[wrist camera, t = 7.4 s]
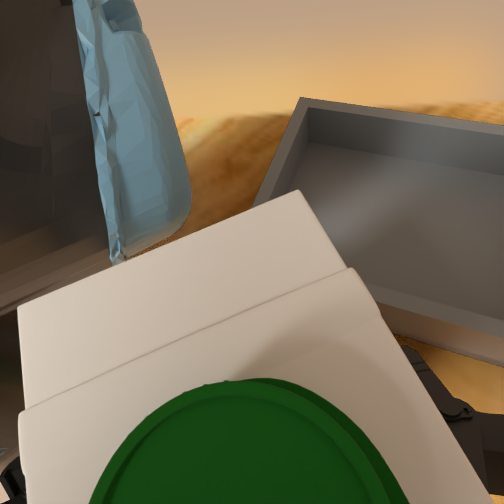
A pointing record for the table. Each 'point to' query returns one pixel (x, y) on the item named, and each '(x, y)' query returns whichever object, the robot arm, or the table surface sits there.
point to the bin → (407, 214)
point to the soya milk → (229, 380)
